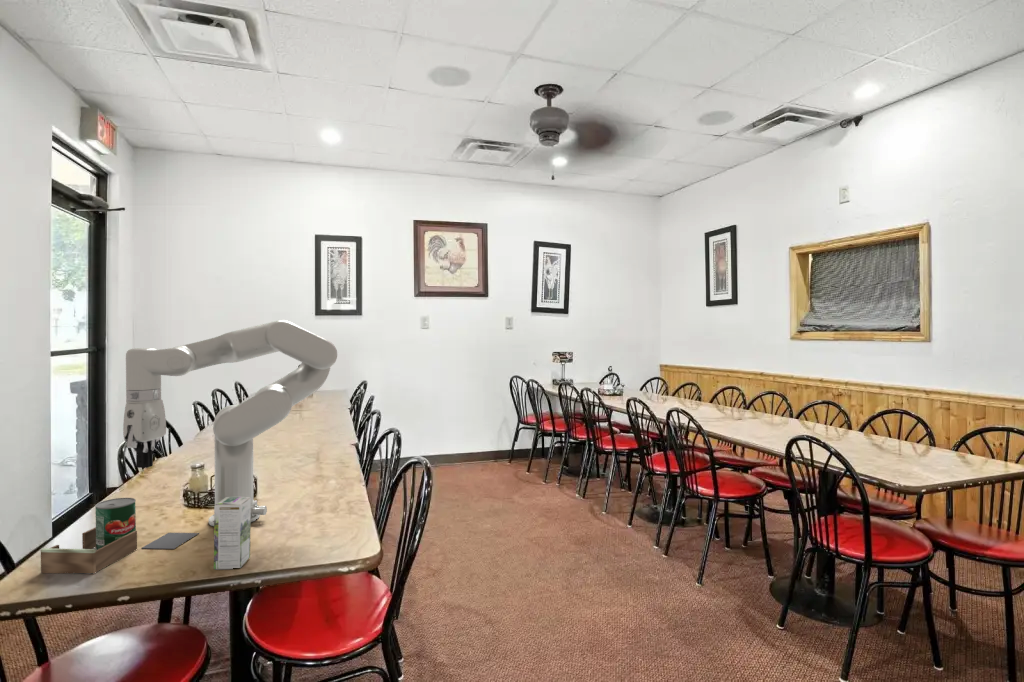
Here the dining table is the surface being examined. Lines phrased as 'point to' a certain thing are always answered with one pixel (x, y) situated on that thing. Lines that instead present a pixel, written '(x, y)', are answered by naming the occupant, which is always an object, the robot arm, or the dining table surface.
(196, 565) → the dining table surface
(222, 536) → the syrup box
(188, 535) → the mats
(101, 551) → the corral
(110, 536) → the canned tomato
